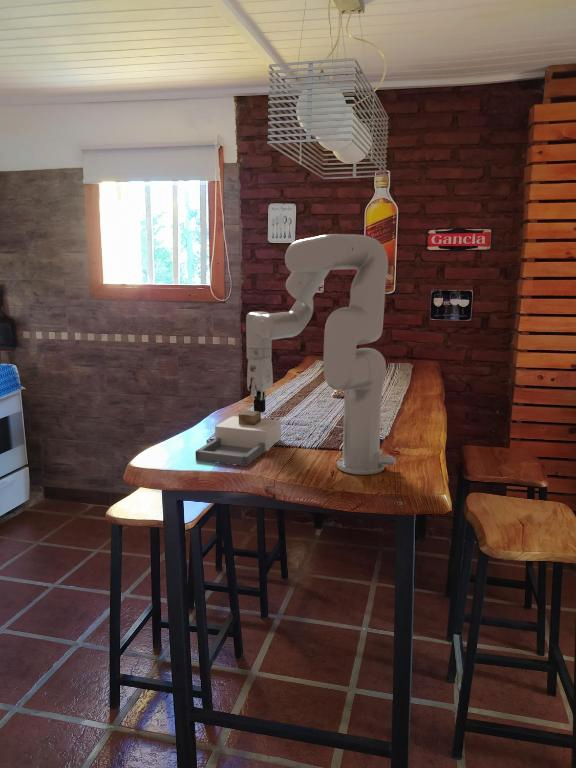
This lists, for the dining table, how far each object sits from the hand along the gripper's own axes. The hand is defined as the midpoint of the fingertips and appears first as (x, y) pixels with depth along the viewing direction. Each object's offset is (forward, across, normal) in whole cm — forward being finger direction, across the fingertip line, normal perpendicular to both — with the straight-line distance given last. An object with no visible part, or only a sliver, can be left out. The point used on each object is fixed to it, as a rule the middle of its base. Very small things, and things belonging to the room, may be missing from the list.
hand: (259, 411), depth 185 cm
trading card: (+8, +8, -18) cm, 21 cm away
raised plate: (+8, -9, 0) cm, 11 cm away
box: (+8, -21, 0) cm, 22 cm away
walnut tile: (+2, -8, 0) cm, 8 cm away
